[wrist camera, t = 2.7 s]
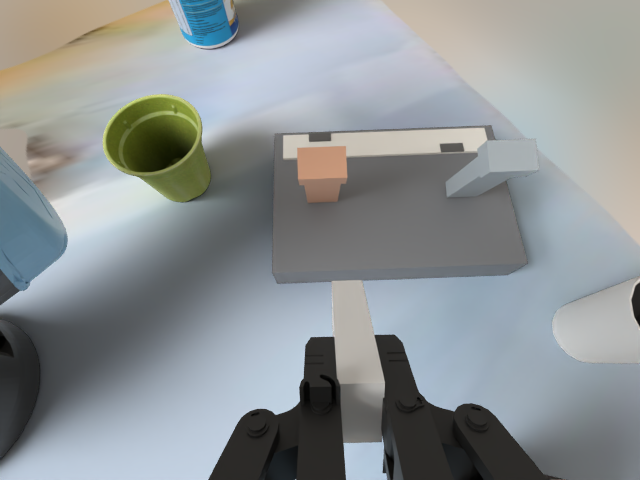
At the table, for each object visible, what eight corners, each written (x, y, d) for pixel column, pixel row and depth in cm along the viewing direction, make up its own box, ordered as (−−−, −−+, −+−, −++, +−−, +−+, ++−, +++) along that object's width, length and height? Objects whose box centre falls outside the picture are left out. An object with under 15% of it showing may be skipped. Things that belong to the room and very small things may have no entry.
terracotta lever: (304, 206, 35) (298, 179, 25) (304, 183, 35) (297, 147, 26) (340, 205, 35) (347, 177, 25) (339, 182, 35) (345, 145, 26)
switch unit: (277, 283, 36) (271, 271, 32) (279, 155, 42) (274, 131, 38) (507, 275, 36) (530, 261, 32) (476, 147, 42) (493, 122, 38)
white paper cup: (598, 383, 32) (708, 386, 23) (534, 333, 34) (612, 317, 25) (630, 330, 34) (745, 312, 25) (568, 285, 36) (653, 252, 26)
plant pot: (236, 155, 42) (215, 103, 34) (209, 223, 39) (178, 183, 31) (165, 140, 43) (128, 86, 35) (133, 206, 40) (84, 163, 32)
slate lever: (444, 201, 35) (489, 172, 25) (442, 178, 35) (486, 140, 26) (479, 200, 35) (539, 170, 25) (477, 177, 35) (535, 138, 26)
